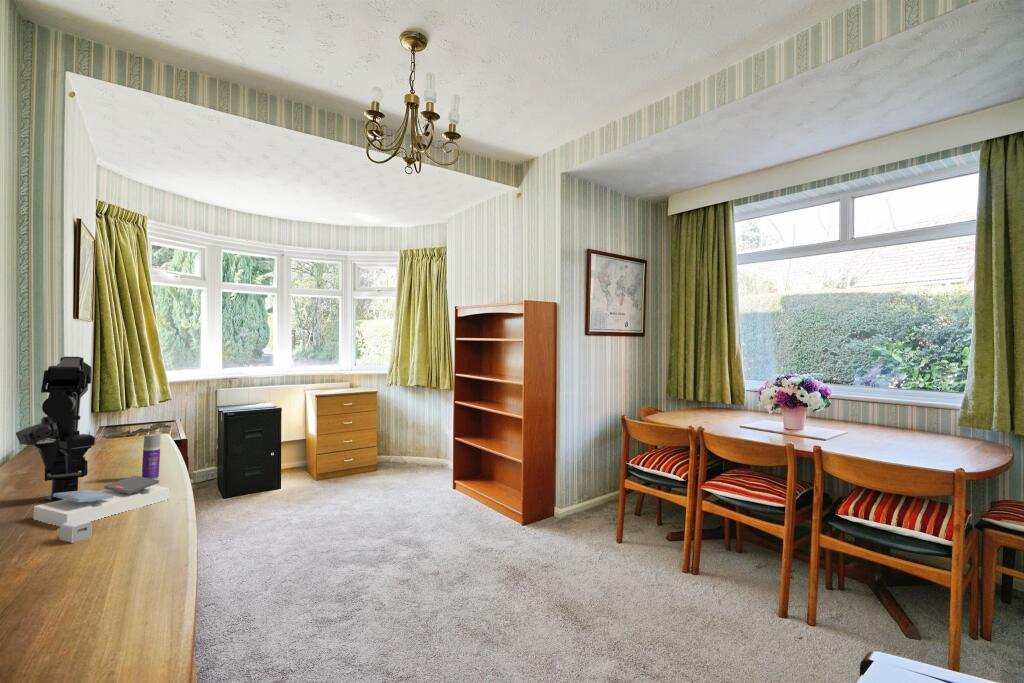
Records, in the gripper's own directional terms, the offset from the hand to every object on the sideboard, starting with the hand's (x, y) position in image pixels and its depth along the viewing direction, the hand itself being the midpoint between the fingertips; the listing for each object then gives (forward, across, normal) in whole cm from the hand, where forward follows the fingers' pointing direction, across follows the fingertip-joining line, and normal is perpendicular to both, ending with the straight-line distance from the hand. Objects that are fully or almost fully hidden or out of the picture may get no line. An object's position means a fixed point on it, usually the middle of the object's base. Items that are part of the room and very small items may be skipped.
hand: (58, 470), depth 125 cm
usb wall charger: (+12, +20, -7) cm, 25 cm away
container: (+12, -15, +33) cm, 38 cm away
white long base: (+12, +5, +9) cm, 16 cm away
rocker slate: (+7, +5, +3) cm, 10 cm away
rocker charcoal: (+7, +5, +15) cm, 18 cm away
